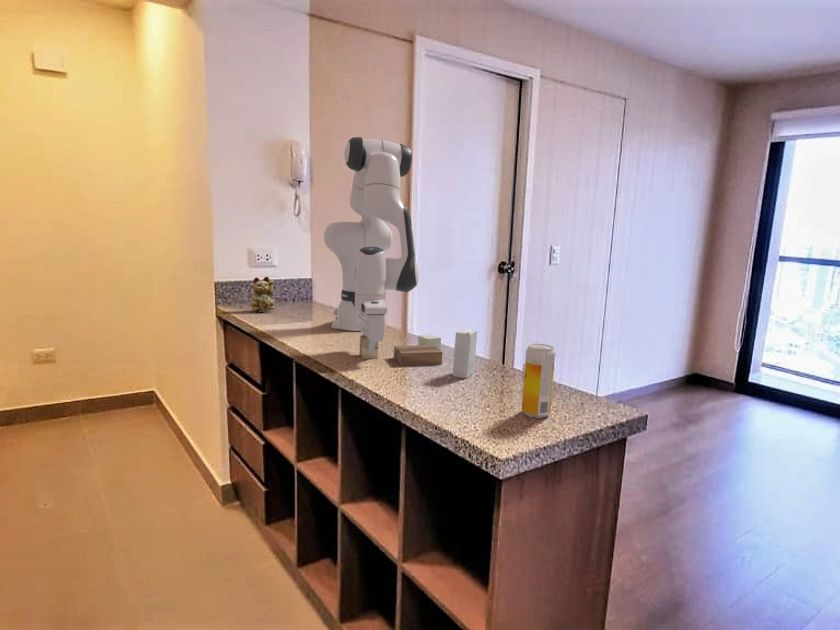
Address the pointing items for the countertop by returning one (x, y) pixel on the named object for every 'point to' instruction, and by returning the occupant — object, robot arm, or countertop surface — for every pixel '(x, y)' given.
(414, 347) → the walnut block
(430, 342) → the sage cube
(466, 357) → the skincare box
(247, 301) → the countertop surface
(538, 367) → the beer can
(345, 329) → the robot arm
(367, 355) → the oak block
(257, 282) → the decorative figurine
